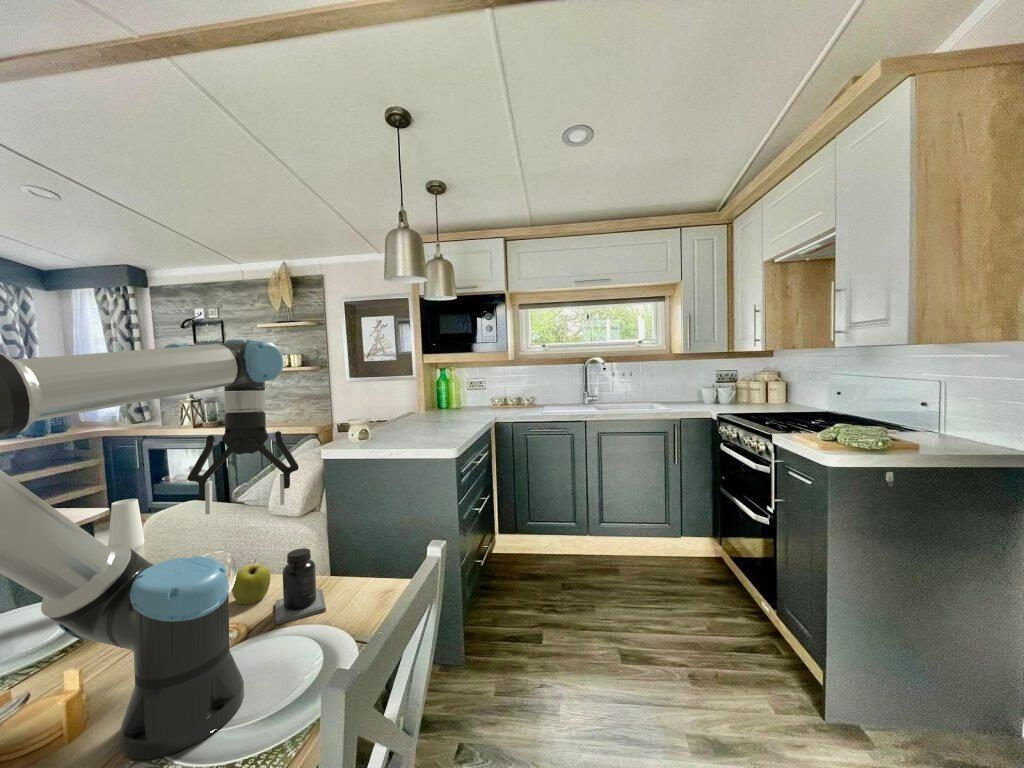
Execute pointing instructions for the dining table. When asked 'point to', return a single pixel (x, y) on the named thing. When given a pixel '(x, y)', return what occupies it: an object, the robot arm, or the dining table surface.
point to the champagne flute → (126, 524)
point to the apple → (251, 583)
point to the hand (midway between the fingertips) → (247, 508)
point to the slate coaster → (289, 615)
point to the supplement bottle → (299, 580)
